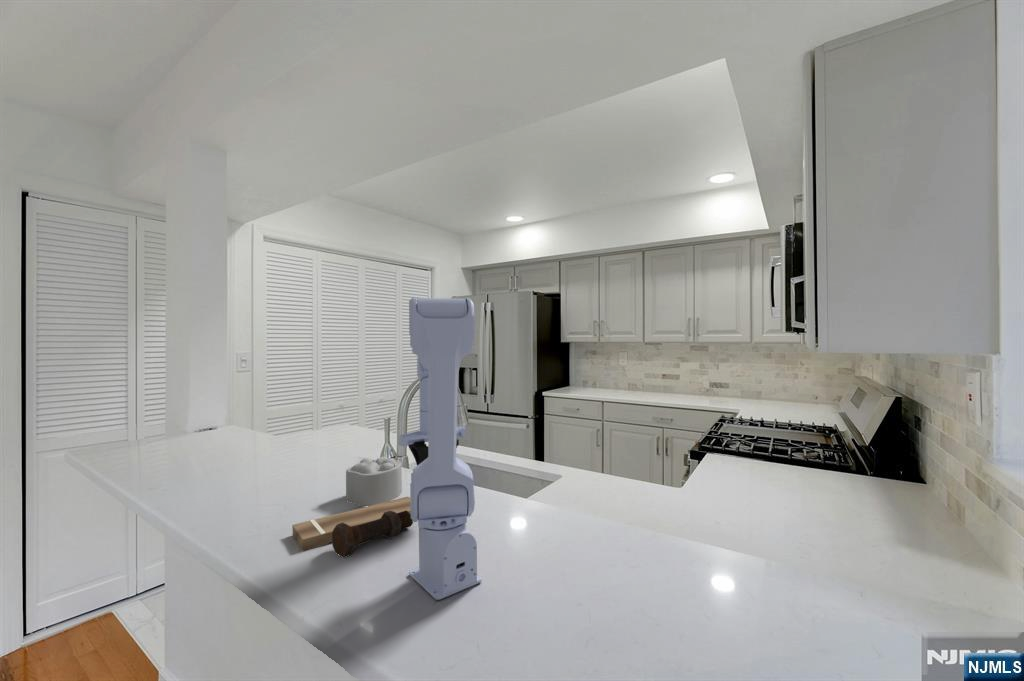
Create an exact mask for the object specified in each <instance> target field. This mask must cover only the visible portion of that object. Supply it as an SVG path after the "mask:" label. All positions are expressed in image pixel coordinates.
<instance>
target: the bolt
mask: <svg viewBox="0 0 1024 681" xmlns="http://www.w3.org/2000/svg"><path fill="white" fill-rule="evenodd" d="M413 524H414V521H413V520H412V519H411V513H410V512H409V511H407V510H406V511H403V512H400V513H396V512H393V511H387V512H384V514H383V515H382V517H381V518H380V519H377V520H374V521H371V522H368V523H365V524H362V525H358V526H353V527H351V526H349V525H347V524H345V523H340V524H337V525H336V526H335V528H334V530H333V533H332V543H331V544H332V548H333V550H334V552H335V553H337V554H336V555H338V554H339V555H340V556H339V555H338V556H339V557H341V556H343V557H342V558H346V556H347V557H349V556H351V555H352V553H353V551H354V549H355V547H358V546H359V545H361V544H364V543H367V542H370V541H374V540H375V539H378V538H379V539H380V538H382V537H386V536H387V537H386V538H389V537H390V538H389V539H393V538H394V537H397V536H398V535H399V533H400V532H401V530H405V529H408V528H410V527H411V526H412V525H413ZM350 554H351V555H350ZM348 555H349V556H348Z"/></svg>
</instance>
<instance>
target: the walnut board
mask: <svg viewBox="0 0 1024 681" xmlns="http://www.w3.org/2000/svg"><path fill="white" fill-rule="evenodd" d="M406 510H407V511H409V512H410V513H411V510H410V496H406V497H401V498H395V499H393V500H391V501H388V502H384V503H380V504H376V505H372V506H368V507H360V508H356V509H352V510H348V511H343V512H339V513H336V514H332V515H328V516H324V517H320V518H316V519H314V518H312V519H310V520H306V521H303V522H299V523H295V524H292V528H291V529H292V537H293V538H294V540H295V541H296V543H297V544H298V546H299V547H300V548H301V550H302V551H303V552H304V551H307V550H310V549H314V548H318V547H321V546H324V545H325V546H326V545H328V544H327V543H329V542H332V533H333V530H334V528H335V526H336V525H337V524H340V523H345V524H347V525H349V526H351V527H353V526H358V525H362V524H365V523H368V522H371V521H374V520H377V519H380V518H381V517H382V515H383V514H384V512H387V511H393V512H396V513H400V512H403V511H406ZM329 544H330V543H329Z"/></svg>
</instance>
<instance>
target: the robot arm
mask: <svg viewBox="0 0 1024 681" xmlns="http://www.w3.org/2000/svg"><path fill="white" fill-rule="evenodd" d="M475 313H476V312H475V304H474V302H473V301H472V299H471V298H470V297H465V298H449V297H448V298H443V297H441V298H438V297H437V298H436V297H435V298H432V297H416V296H412V297H411V299H409V301H408V316H409V317H408V319H409V320H408V332H409V336H410V338H409V339H410V341H409V342H410V343H409V345H410V347H411V352H412V354H414V355H416V356H417V357H416V375H417V379H418V381H419V383H418V384H419V388H418V389H419V430H418V431H413V432H409V433H405V434H399V436H398V445H399V446H401V447H408V449H409V450H410V451H411V454H412V456H413V458H414V460H415V463H416V466H415V467H414V468H412V472H411V474H410V484H409V485H410V486H409V487H410V488H409V490H410V493H409V494H410V495H409V498H410V510H411V519H412V520H413V523H416V522H417V524H418V525H417V526H418V567H416V568H412V569H411V570H409V571H408V574H409V576H410V577H411V578H412V579H413V580H414V581H416V583H418V585H420V586H421V587H422V588H423V589H424V590H425V591H426V592H427V593H428V594H429V595H431V597H433V598H434V600H436V601H439V600H442V599H444V598H445V599H446V598H447V597H449V596H452V595H454V594H456V593H459V592H461V591H463V590H465V589H469V588H471V587H473V586H476V585H477V584H480V583H482V580H483V579H482V577H481V576H480V575H478V550H477V549H478V546H477V541H476V539H475V537H474V535H472V533H470V531H469V530H468V527H467V525H466V524H467V522H468V517H471V516H472V515H473V513H474V511H475V504H476V503H475V502H476V501H475V488H474V474H473V472H472V469H471V467H470V465H468V463H466V462H465V461H463V460H462V459H460V458H459V457H457V449H458V446H459V443H460V441H459V438H457V437H460V438H461V437H466V436H467V432H466V430H467V427H466V426H462V425H460V426H458V425H457V424H458V383H459V382H458V381H459V380H458V379H459V378H458V377H459V371H460V367H461V363H462V360H463V358H464V357H466V356H468V355H469V354H471V353H473V347H474V345H475V325H476V324H475V322H476V321H475V320H476V317H475V315H476V314H475ZM427 444H428V445H427Z"/></svg>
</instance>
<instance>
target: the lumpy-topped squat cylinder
mask: <svg viewBox="0 0 1024 681" xmlns="http://www.w3.org/2000/svg"><path fill="white" fill-rule="evenodd" d="M402 469H403V468H402V462H401V461H400V460H398V459H397V460H396V459H395V458H392V457H390V458H389V457H387V456H380V457H378V458H376V459H371V458H369V457H364V458H362V459H361V460H360V462H359V463H356V464H355V465H353V466H351V467H347V468H346V470H345V501H346V502H347V501H348V502H347V503H349V502H352V503H351V504H354V503H356V504H355V505H357V504H358V505H357V506H359V505H360V506H359V507H362V506H372V505H376V504H380V503H384V502H388V501H392V500H396V499H398V498H399V497H400V496H401V494H402V491H403V490H402V489H403V486H402V482H403V481H402V478H403V477H402V476H403V475H402V471H403V470H402Z"/></svg>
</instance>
